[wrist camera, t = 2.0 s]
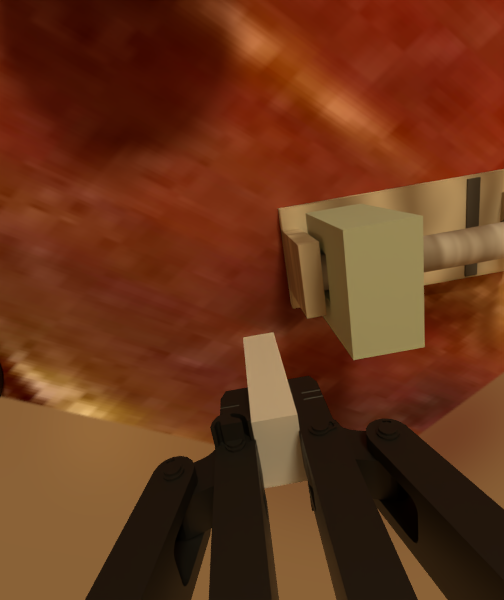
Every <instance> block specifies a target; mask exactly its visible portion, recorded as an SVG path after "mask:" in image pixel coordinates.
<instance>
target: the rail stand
mask: <svg viewBox="0 0 504 600" xmlns="http://www.w3.org/2000/svg"><path fill="white" fill-rule="evenodd" d="M355 204H365V205H370V206H375V207H381V208H386V209H391V210H396V211H401V212H406V213H411V214H416V215H422V216H423V252H424V285H429V284H434V283H440V282H445V281H451V280H457V279H462V278H468V277H473V276H479V275H484V274H490V273H496V272H501V271H504V169H501V170H496V171H490V172H484V173H478V174H473V175H467V176H461V177H456V178H450V179H444V180H439V181H433V182H427V183H421V184H416V185H410V186H404V187H399V188H393V189H387V190H382V191H376V192H370V193H364V194H359V195H353V196H347V197H342V198H336V199H330V200H324V201H319V202H313V203H307V204H302V205H296V206H290V207H285V208H279V209H278V213H279V220H280V227H281V235H282V242H283V249H284V257H285V264H286V271H287V278H288V286H289V293H290V300H291V306H292V308H293V309H295V308H300V307H301V309H302V311H303V312H304V314H305V316H306V318H307V319H308V318H314V317H319V316H325V315H327V314H326V304H325V295H324V290H329V284H328V274H327V264H326V254H325V253H324V254H320V247H319V241H317V240H316V239H314V238H313V237H311V236H310V235H308V232H307V223H306V215H305V213H309V212H315V211H321V210H326V209H332V208H338V207H343V206H349V205H355Z"/></svg>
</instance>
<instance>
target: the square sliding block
mask: <svg viewBox="0 0 504 600" xmlns="http://www.w3.org/2000/svg"><path fill="white" fill-rule="evenodd" d="M305 215H306V223H307V232H308V235H310V236H311V237H313V238H314V239H316V240H317V241H319V247H320V254H324V253H325V254H326V264H327V274H328V284H329V290H324V295H325V304H326V314H327V315H325V316H323V317H324V319H325V320H326V322H327V323H328V324H329V326H330V327H331V329H332V330H333V332H334V333H335V334H336V336H337V337H338V339H339V340H340V342H341V343H342V344H343V346H344V347H345V349H346V350H347V351H348V353H349V354H350V356H351V357H352V359H353V360H356V359H362V358H367V357H373V356H378V355H384V354H389V353H395V352H400V351H406V350H411V349H417V348H422V347H425V341H424V252H423V216H422V215H416V214H411V213H406V212H401V211H396V210H391V209H386V208H381V207H375V206H370V205H365V204H355V205H349V206H343V207H338V208H332V209H326V210H321V211H315V212H309V213H305Z"/></svg>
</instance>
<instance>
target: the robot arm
mask: <svg viewBox="0 0 504 600" xmlns="http://www.w3.org/2000/svg"><path fill="white" fill-rule="evenodd" d="M243 341H244V351H245V362H246V372H247V383H248V388H242V389H237V390H231V391H226V392H225V394H224V395H223V397H222V398H221V407H220V408H221V409H220V416H218V417H217V418H216V419H215V420H214V421H213V422H212V424H211V427H210V428H211V432H212V436H213V440H214V444H215V450H214V451H213V452H212V453H211V454H210V455H209V456H207V457H205V458H203V459H201V460H199V461H197V462H194V463H193V461H192V460H191V459H189V458H188V457H184V456H178V457H172V458H170V459H168V460H166V461H164V462H163V463H161V464H160V465H159V466H158V467H157V468H156V470H155V471H154V472H153V474H152V476H151V478H150V480H149V482H148V483H147V485H146V487H145V489H144V491H143V493H142V495H141V497H140V498H139V500H138V502H137V504H136V506H135V508H134V510H133V512H132V513H131V515H130V517H129V519H128V521H127V523H126V524H125V526H124V529H123V530H122V532H121V534H120V536H119V538H118V539H117V541H116V543H115V545H114V547H113V549H112V551H111V552H110V554H109V556H108V558H107V560H106V562H105V564H104V565H103V567H102V569H101V571H100V573H99V575H98V577H97V578H96V580H95V582H94V584H93V586H92V588H91V590H90V592H89V593H88V595H87V597H86V599H85V600H191V598H192V594H193V591H194V588H195V584H196V581H197V578H198V574H199V571H200V567H201V564H202V561H203V557H204V554H205V550H206V547H207V544H208V540H209V537H210V531H211V528H212V540H211V562H210V585H209V587H210V588H209V600H279V597H278V589H277V581H276V573H275V564H274V556H273V548H272V540H271V532H270V524H269V516H268V507H267V500H266V495H265V490H264V488H268V487H274V486H279V485H285V484H291V483H296V482H302V481H307V480H308V486H309V493H310V499H311V507H312V511H314V512H315V516H316V520H317V525H318V528H319V532H320V536H321V540H322V544H323V548H324V552H325V556H326V560H327V564H328V567H329V572H330V576H331V580H332V584H333V587H334V591H335V595H336V599H337V600H418V599H417V597H416V594H415V592H414V590H413V588H412V585H411V583H410V581H409V579H408V576H407V574H406V572H405V570H404V567H403V565H402V563H401V561H400V559H399V556H398V554H397V552H396V550H395V547H394V545H393V543H392V541H391V538H390V536H389V534H388V532H387V529H386V527H385V525H384V523H383V521H382V518H381V516H380V514H379V512H378V509H379V511H380V512H381V513H382V515H383V516H384V517H385V519H386V520H387V521H388V523H389V524H390V525H391V526H392V528H393V529H394V530H395V532H396V533H397V534H398V536H399V537H400V538H401V539H402V541H403V542H404V543H405V545H406V546H407V547H408V549H409V550H410V551H411V552H412V554H413V555H414V556H415V558H416V559H417V560H418V562H419V563H420V564H421V565H422V567H423V568H424V569H425V571H426V572H427V573H428V575H429V576H430V577H431V578H432V580H433V581H434V582H435V584H436V585H437V586H438V587H439V589H440V590H441V591H442V593H443V594H444V595H445V597H446V598H447V599H448V600H504V509H503V508H501V507H500V506H499V505H498V504H497V503H496V502H494V501H493V500H492V499H491V498H490V497H489V496H487V495H486V494H485V493H484V492H483V491H482V490H480V489H479V488H478V487H477V486H476V485H475V484H473V483H472V482H471V481H470V480H469V479H468V478H466V477H465V476H464V475H463V474H462V473H461V472H460V471H458V470H457V469H456V468H455V467H454V466H453V465H451V464H450V463H449V462H448V461H447V460H445V459H444V458H443V457H442V456H441V455H440V454H439V453H437V452H436V451H435V450H434V449H433V448H431V447H430V446H429V445H428V444H427V443H426V442H424V441H423V440H422V439H421V438H420V437H419V436H418V435H416V434H415V433H414V432H413V431H412V430H411V429H409V428H408V427H407V426H406V425H404V424H403V423H401V422H399V421H396V420H393V419H379V420H375V421H373V422H371V423H369V425H368V426H367V428H366V431H356V430H349V429H346V428H343V427H341V426H340V425H339V423H338V422H337V421H336V420H334V419H333V418H332V416H331V413H330V411H329V409H328V407H327V404H326V402H325V400H324V397H323V395H322V393H321V390H320V388H319V386H318V384H317V381H315V380H314V379H313V378H311V377H310V376H305V377H299V378H294V379H288V380H287V377H286V374H285V370H284V367H283V363H282V360H281V356H280V353H279V350H278V346H277V343H276V339H275V336H274V333H273V332H272V333H267V334H261V335H255V336H250V337H244V338H243ZM2 387H3V376H2V370H1V366H0V396H1V393H2ZM377 508H378V509H377Z"/></svg>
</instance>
